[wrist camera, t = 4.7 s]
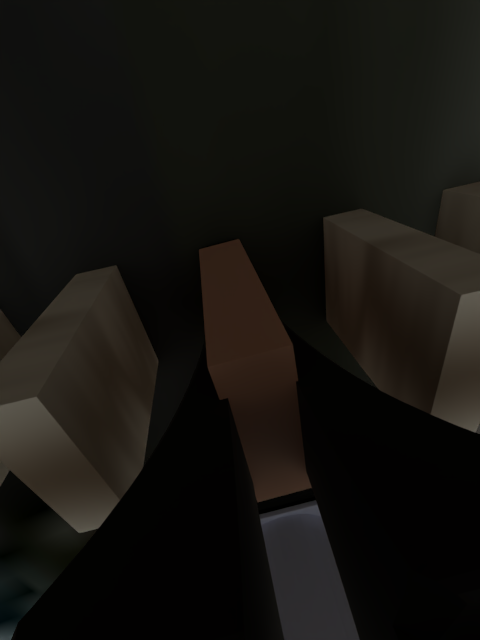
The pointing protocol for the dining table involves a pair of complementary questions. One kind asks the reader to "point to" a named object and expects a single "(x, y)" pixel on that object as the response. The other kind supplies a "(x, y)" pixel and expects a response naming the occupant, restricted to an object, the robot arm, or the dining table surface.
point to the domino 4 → (460, 216)
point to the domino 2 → (79, 399)
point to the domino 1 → (3, 338)
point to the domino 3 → (407, 312)
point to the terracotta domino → (253, 369)
